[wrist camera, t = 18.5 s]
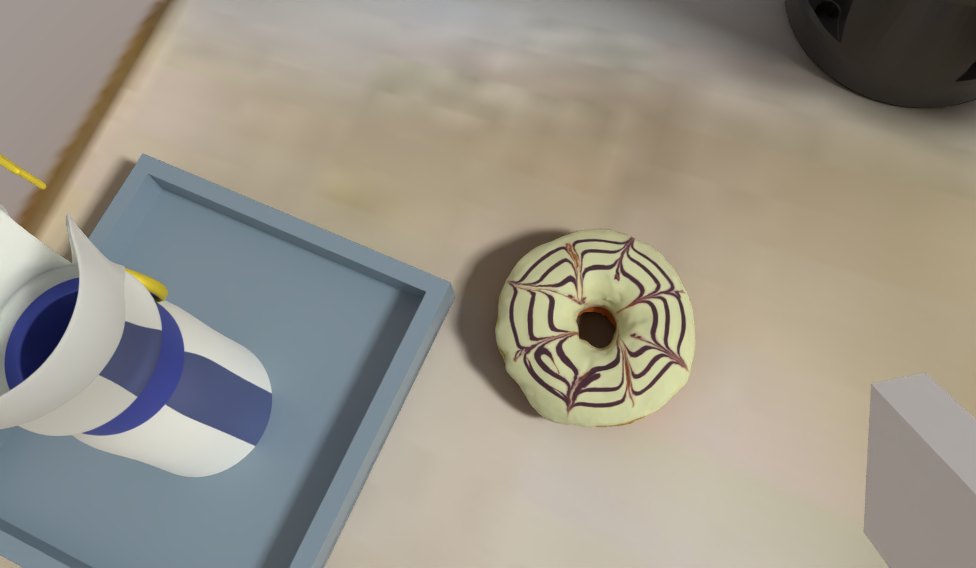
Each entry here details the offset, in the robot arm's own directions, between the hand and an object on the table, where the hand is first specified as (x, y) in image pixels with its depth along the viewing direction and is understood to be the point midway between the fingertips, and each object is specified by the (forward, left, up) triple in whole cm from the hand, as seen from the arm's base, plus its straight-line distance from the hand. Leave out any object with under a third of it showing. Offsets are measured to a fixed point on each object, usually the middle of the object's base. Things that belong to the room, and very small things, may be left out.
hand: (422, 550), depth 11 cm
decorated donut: (-13, 0, -32) cm, 35 cm away
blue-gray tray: (-1, -18, -32) cm, 36 cm away
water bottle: (0, -18, -31) cm, 36 cm away
